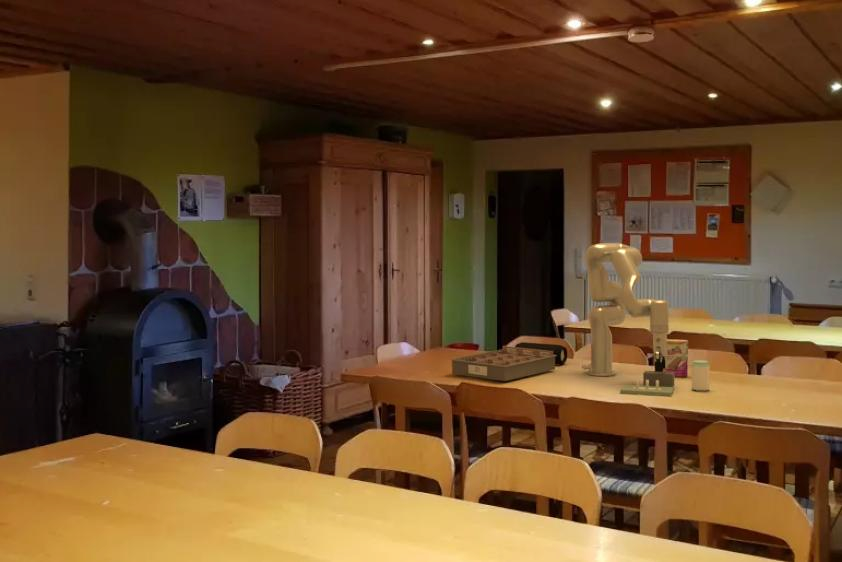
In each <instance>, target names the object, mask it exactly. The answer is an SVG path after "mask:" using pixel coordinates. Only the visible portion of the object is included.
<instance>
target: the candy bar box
mask: <svg viewBox="0 0 842 562" xmlns="http://www.w3.org/2000/svg"><path fill="white" fill-rule="evenodd" d="M667 350H668V354H667V356H666V357H665V368H663V371H662V372H674V378H688V375H689V374H688V373H689V371H688V370H689V369H688V367H689V363H688V362H689V340H687V339H670V338H667Z"/></svg>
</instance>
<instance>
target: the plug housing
mask: <svg viewBox="0 0 842 562" xmlns="http://www.w3.org/2000/svg"><path fill="white" fill-rule="evenodd" d="M642 374H643V376H642V377H643V381H642V383H643V384H642V385H643V386H646V380H649V386H656V380H659V386H661V387H675V377H674V372H655V370H644V372H643V373H642Z"/></svg>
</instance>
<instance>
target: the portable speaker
mask: <svg viewBox="0 0 842 562" xmlns="http://www.w3.org/2000/svg"><path fill="white" fill-rule="evenodd" d="M514 347H518V348H528V349H537V350H546V351H553V355H557V356H555V364H561V365H564V364H566V363H567V360H568V349H567V348H566V347H565V346H564V345H561V344H554V343H540V342H539V343H538V342H524V341H522V342H519V343H516V344H515V346H514Z"/></svg>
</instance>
